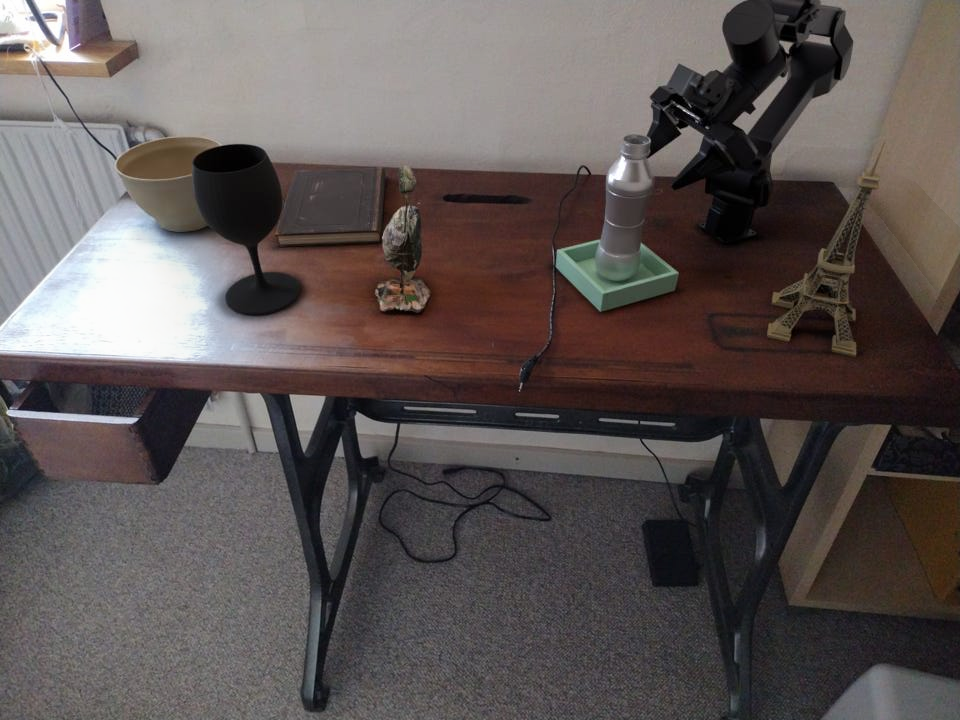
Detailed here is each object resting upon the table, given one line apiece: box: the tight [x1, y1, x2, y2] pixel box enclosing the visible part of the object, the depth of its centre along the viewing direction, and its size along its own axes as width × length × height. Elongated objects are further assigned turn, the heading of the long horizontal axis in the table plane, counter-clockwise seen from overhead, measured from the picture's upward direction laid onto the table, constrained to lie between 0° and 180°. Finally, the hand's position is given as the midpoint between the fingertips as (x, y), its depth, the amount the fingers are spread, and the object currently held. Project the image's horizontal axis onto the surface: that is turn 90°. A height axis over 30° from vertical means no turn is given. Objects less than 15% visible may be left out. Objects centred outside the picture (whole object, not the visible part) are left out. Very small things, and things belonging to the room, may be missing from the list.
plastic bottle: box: [595, 133, 656, 281], centre depth 91 cm, size 6×7×20 cm
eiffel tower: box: [766, 139, 886, 358], centre depth 81 cm, size 11×11×25 cm
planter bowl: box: [114, 135, 223, 233], centre depth 107 cm, size 16×16×11 cm
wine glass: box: [192, 143, 302, 317], centre depth 88 cm, size 10×10×20 cm
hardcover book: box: [274, 166, 386, 248], centre depth 112 cm, size 16×23×2 cm
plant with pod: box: [374, 164, 431, 314], centre depth 88 cm, size 8×11×20 cm
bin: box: [555, 239, 680, 313], centre depth 96 cm, size 12×12×3 cm
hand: (654, 173), depth 93 cm, fingers open, 9 cm apart
